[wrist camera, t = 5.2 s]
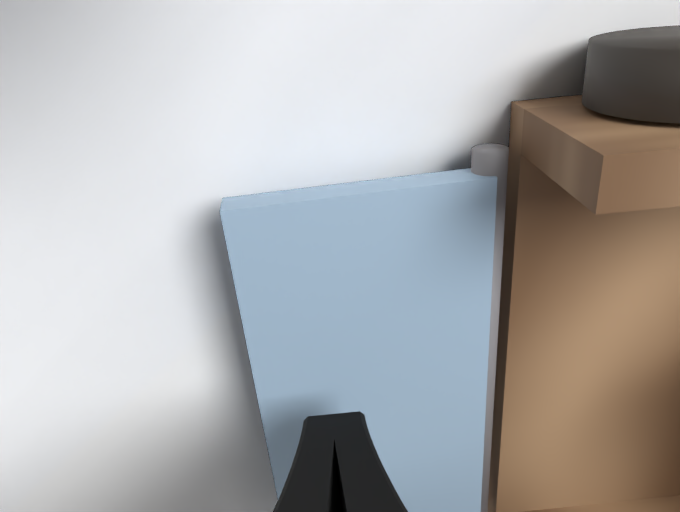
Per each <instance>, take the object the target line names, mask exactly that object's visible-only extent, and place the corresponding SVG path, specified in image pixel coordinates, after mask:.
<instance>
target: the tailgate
mask: <svg viewBox="0 0 680 512" xmlns="http://www.w3.org/2000/svg"><path fill="white" fill-rule="evenodd" d="M508 157H509V147H508V146H505V145H502V144H480V145H476V146H474V147H472V149H471V168H467V169H459V170H450V171H442V172H434V173H425V174H417V175H409V176H401V177H392V178H384V179H376V180H367V181H359V182H351V183H343V184H334V185H326V186H318V187H309V188H301V189H293V190H285V191H276V192H268V193H260V194H251V195H243V196H235V197H226V198H222V203H221V207H220V216H221V221H222V226H223V231H224V235H225V240H226V245H227V250H228V255H229V260H230V265H231V270H232V275H233V280H234V285H235V290H236V295H237V300H238V305H239V310H240V315H241V320H242V324H243V329H244V334H245V339H246V344H247V349H248V354H249V359H250V364H251V369H252V374H253V379H254V384H255V389H256V394H257V399H258V404H259V409H260V413H261V418H262V423H263V428H264V433H265V438H266V443H267V448H268V453H269V458H270V463H271V468H272V473H273V478H274V483H275V488H276V493H277V498H278V500H279V497H280V495H281V492H282V490H283V487H284V484H285V482H286V479H287V477H288V474H289V471H290V469H291V466H292V463H293V460H294V457H295V454H296V451H297V447H298V444H299V440H300V436H301V432H302V428H303V422H304V420H305V419H306V418H307V417H308V416H316V415H327V414H337V413H347V412H358V411H360V412H361V413H363V414H364V415H365V420H366V423H367V427H368V430H369V433H370V436H371V439H372V441H373V444H374V446H375V449H376V451H377V454H378V456H379V458H380V460H381V462H382V465H383V467H384V469H385V471H386V473H387V475H388V476H389V478H390V480H391V482H392V484H393V486H394V488H395V490H396V492H397V494H398V495H399V497H400V499H401V501H402V503H403V504H404V506H405V508H406V509H407V511H408V512H488V495H489V478H490V461H491V444H492V427H493V410H494V393H495V377H496V360H497V343H498V326H499V309H500V292H501V275H502V258H503V241H504V225H505V208H506V191H507V174H508Z"/></svg>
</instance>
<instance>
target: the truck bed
mask: <svg viewBox="0 0 680 512" xmlns="http://www.w3.org/2000/svg"><path fill="white" fill-rule="evenodd" d="M488 512H680V26H663V27H650V28H639V29H630V30H622V31H615V32H609V33H604V34H600V35H596V36H593V37H591V38H590V39H589V43H588V51H587V60H586V68H585V77H584V85H583V94H582V95H574V96H564V97H553V98H543V99H533V100H523V101H513V102H511V119H510V136H509V157H508V174H507V191H506V208H505V225H504V241H503V258H502V275H501V292H500V309H499V326H498V343H497V360H496V377H495V393H494V410H493V427H492V444H491V461H490V478H489V495H488Z"/></svg>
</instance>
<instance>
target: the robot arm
mask: <svg viewBox="0 0 680 512" xmlns="http://www.w3.org/2000/svg"><path fill="white" fill-rule="evenodd" d="M273 512H408V511H407V509H406V508H405V506H404V504H403V503H402V501H401V499H400V497H399V495H398V494H397V492H396V490H395V488H394V486H393V484H392V482H391V480H390V478H389V476H388V475H387V473H386V471H385V469H384V467H383V465H382V462H381V460H380V458H379V456H378V454H377V451H376V449H375V446H374V444H373V441H372V439H371V436H370V433H369V430H368V427H367V423H366V420H365V415H364V414H363V413H361V412H360V411H358V412H347V413H337V414H327V415H316V416H308V417H307V418H306V419H305V420H304V422H303V428H302V432H301V436H300V440H299V444H298V447H297V451H296V454H295V457H294V460H293V463H292V466H291V469H290V471H289V474H288V477H287V479H286V482H285V484H284V487H283V490H282V492H281V495H280V497H279V500H278V502H277V504H276V506H275V508H274V511H273Z"/></svg>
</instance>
